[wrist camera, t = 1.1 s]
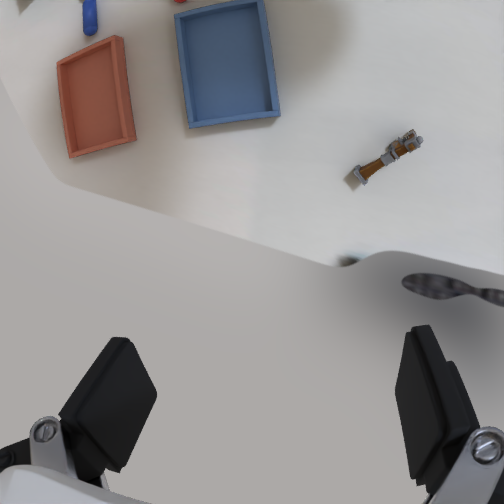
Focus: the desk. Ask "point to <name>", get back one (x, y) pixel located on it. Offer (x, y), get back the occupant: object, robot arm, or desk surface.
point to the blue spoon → (89, 17)
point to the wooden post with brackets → (389, 156)
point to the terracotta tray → (95, 97)
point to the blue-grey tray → (226, 63)
